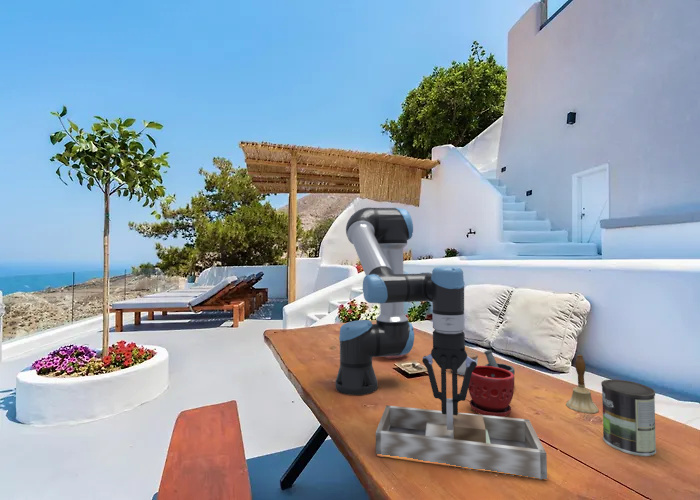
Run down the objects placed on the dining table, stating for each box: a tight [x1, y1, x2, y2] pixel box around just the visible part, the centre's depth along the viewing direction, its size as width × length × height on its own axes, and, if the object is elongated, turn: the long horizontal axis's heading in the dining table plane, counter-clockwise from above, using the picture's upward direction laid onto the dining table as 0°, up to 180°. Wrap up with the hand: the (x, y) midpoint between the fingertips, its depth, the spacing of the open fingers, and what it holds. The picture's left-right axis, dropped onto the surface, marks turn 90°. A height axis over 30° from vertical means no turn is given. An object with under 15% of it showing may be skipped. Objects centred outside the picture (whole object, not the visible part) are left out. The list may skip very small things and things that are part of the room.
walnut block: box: [453, 414, 486, 443], centre depth 83 cm, size 7×7×4 cm
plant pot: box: [468, 365, 515, 417], centre depth 104 cm, size 13×13×12 cm
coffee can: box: [601, 379, 657, 457], centre depth 85 cm, size 10×10×14 cm
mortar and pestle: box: [483, 349, 516, 378], centre depth 124 cm, size 11×9×12 cm
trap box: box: [375, 405, 548, 480], centre depth 84 cm, size 36×15×6 cm, turn 75°
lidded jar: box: [457, 349, 479, 376], centre depth 139 cm, size 11×11×9 cm
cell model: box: [383, 354, 406, 360], centre depth 162 cm, size 17×20×11 cm
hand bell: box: [565, 354, 600, 414], centre depth 106 cm, size 8×8×16 cm
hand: (449, 427), depth 84 cm, fingers closed
